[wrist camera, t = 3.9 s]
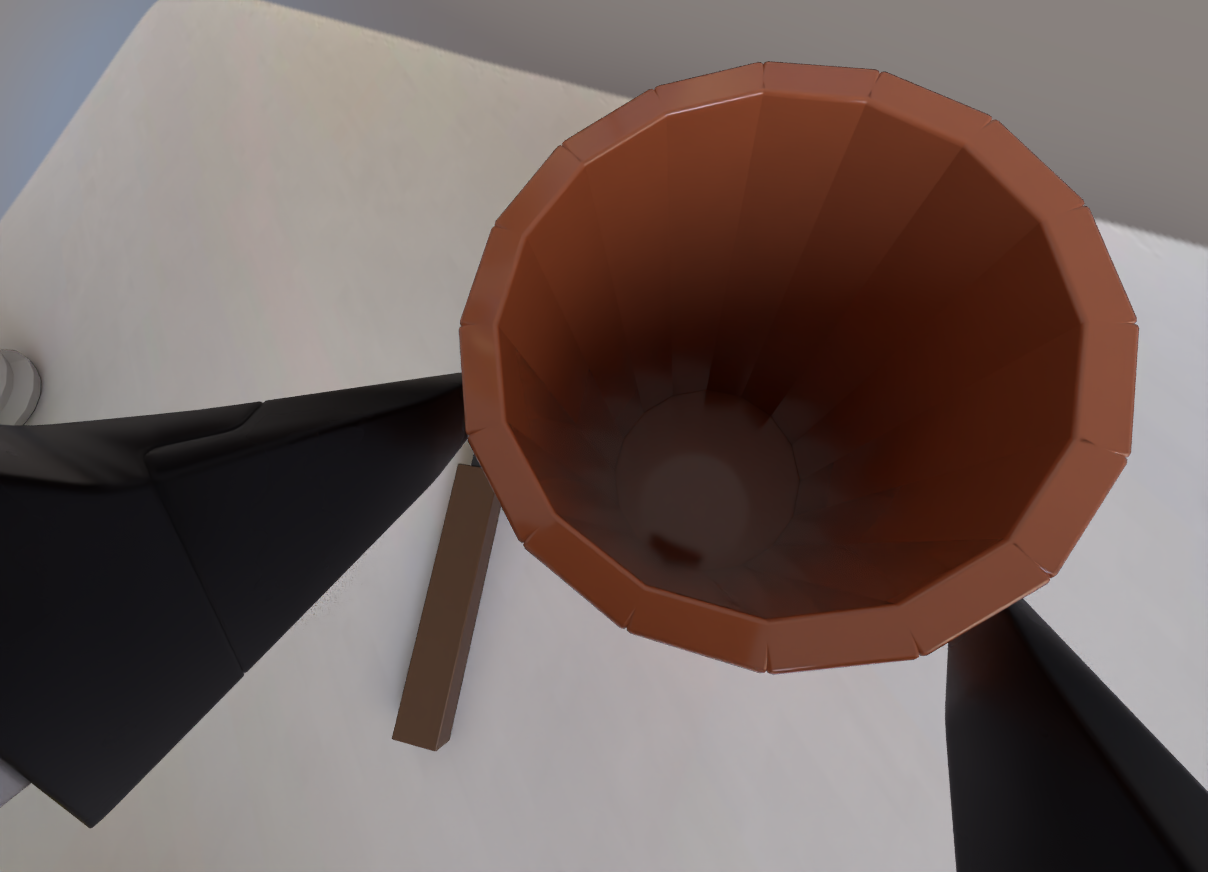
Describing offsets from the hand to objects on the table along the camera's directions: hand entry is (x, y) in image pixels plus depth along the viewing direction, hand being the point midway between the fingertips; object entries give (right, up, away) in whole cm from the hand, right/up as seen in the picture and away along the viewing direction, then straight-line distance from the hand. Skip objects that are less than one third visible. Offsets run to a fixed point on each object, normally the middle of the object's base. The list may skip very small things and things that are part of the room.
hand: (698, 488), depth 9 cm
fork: (-6, -1, +10) cm, 12 cm away
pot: (+2, -1, +9) cm, 9 cm away
